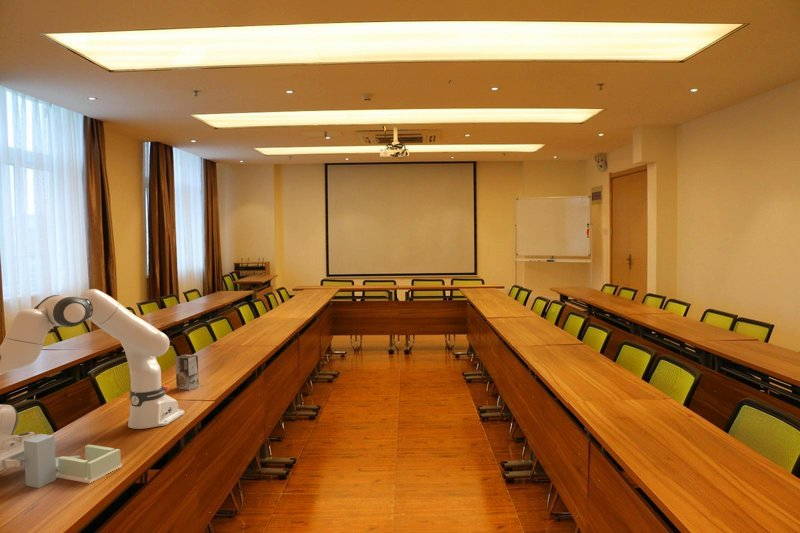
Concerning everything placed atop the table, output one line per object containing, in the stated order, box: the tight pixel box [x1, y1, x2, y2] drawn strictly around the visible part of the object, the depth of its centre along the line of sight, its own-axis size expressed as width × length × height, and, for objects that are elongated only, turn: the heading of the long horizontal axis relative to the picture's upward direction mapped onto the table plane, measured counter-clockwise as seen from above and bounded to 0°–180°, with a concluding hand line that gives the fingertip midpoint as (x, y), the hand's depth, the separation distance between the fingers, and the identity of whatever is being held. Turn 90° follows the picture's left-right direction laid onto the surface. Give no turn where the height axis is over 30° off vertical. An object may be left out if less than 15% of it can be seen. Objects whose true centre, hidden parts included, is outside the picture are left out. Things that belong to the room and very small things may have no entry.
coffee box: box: [174, 354, 200, 391], centre depth 254 cm, size 9×6×16 cm
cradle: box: [56, 444, 123, 484], centre depth 163 cm, size 12×14×6 cm
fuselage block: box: [24, 433, 57, 489], centre depth 156 cm, size 6×6×14 cm
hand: (36, 456), depth 156 cm, fingers open, 8 cm apart
